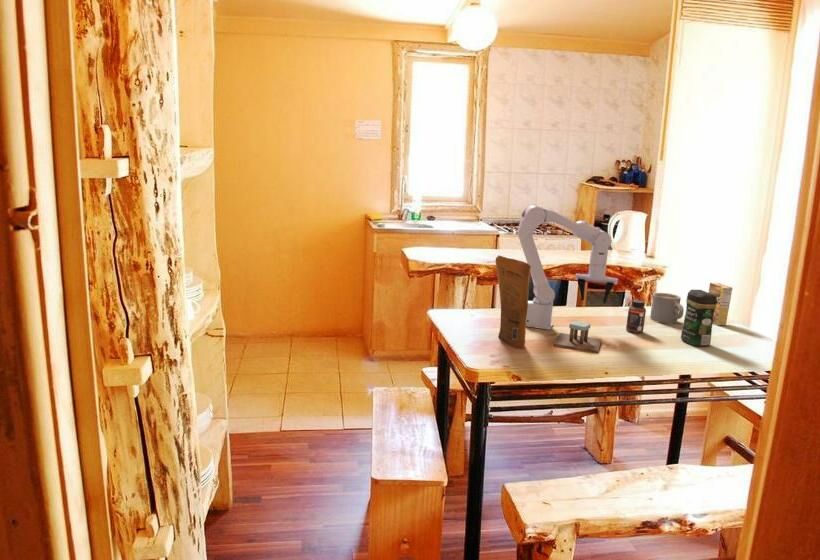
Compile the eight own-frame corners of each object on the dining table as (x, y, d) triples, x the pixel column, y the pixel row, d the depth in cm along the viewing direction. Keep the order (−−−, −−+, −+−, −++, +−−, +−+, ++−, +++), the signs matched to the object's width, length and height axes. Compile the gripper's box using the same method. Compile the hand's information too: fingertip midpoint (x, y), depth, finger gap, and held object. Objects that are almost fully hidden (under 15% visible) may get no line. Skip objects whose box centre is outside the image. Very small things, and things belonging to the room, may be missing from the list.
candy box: (703, 319, 245) (709, 282, 242) (712, 319, 246) (718, 282, 243) (716, 325, 237) (723, 287, 233) (726, 326, 237) (733, 287, 234)
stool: (567, 341, 204) (569, 323, 202) (573, 337, 208) (575, 320, 206) (582, 344, 200) (584, 327, 199) (588, 341, 205) (590, 324, 203)
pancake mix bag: (513, 351, 192) (521, 264, 187) (487, 333, 210) (494, 253, 204) (532, 350, 195) (541, 263, 189) (505, 332, 212) (512, 253, 206)
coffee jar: (676, 338, 216) (683, 287, 212) (696, 338, 217) (704, 288, 213) (692, 347, 207) (701, 294, 203) (714, 347, 208) (722, 294, 204)
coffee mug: (644, 317, 244) (648, 292, 242) (667, 317, 246) (670, 292, 244) (664, 326, 231) (668, 301, 229) (688, 326, 233) (692, 301, 231)
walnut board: (553, 345, 200) (553, 343, 200) (559, 334, 213) (559, 332, 213) (597, 353, 195) (597, 350, 195) (601, 341, 208) (601, 339, 208)
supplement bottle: (644, 334, 219) (648, 303, 217) (626, 332, 220) (630, 302, 218) (641, 330, 225) (645, 300, 223) (624, 328, 226) (628, 298, 224)
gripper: (619, 264, 219) (615, 301, 221) (578, 260, 224) (574, 296, 227) (618, 268, 212) (614, 305, 215) (576, 263, 217) (571, 300, 220)
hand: (593, 301), depth 220 cm, fingers open, 7 cm apart
